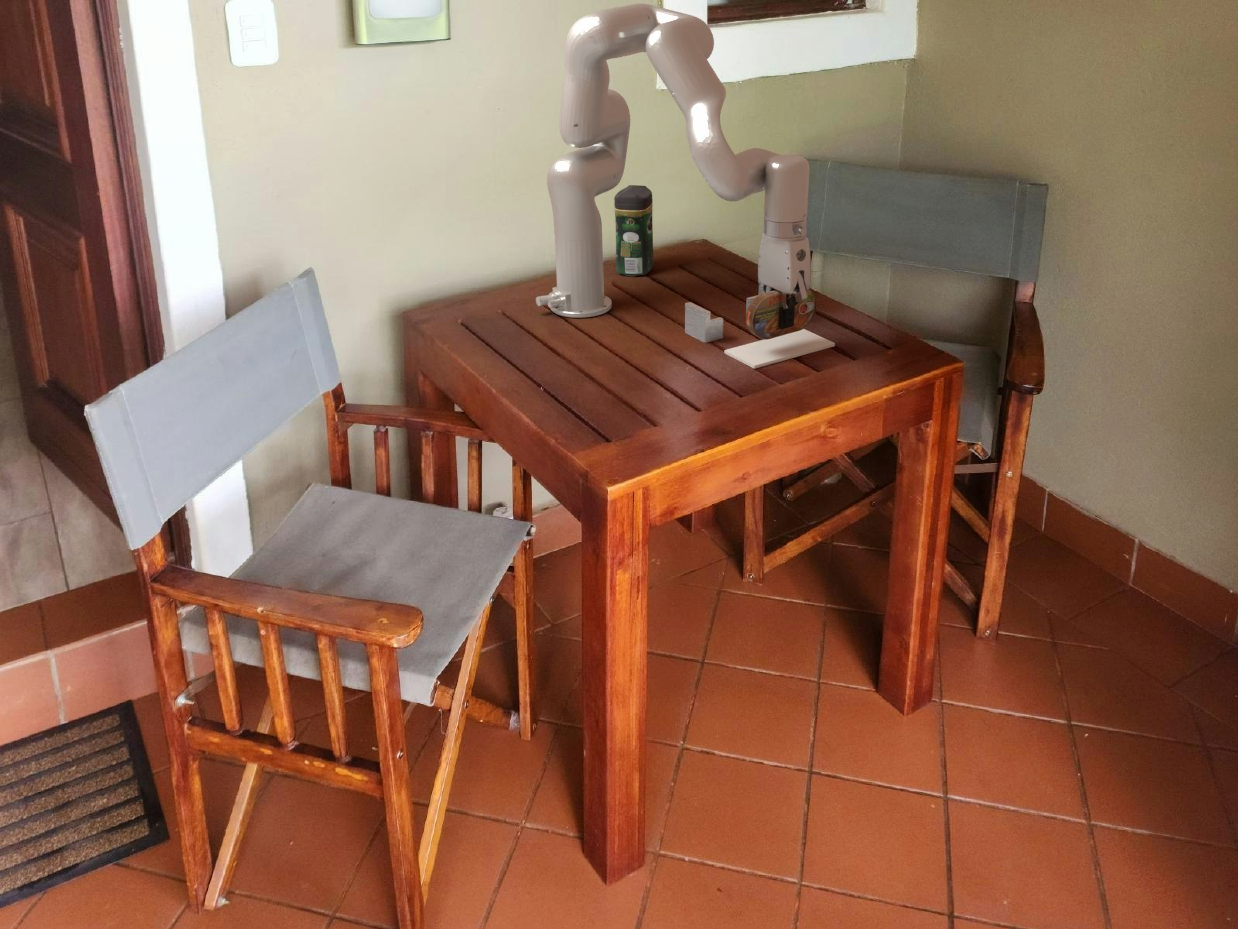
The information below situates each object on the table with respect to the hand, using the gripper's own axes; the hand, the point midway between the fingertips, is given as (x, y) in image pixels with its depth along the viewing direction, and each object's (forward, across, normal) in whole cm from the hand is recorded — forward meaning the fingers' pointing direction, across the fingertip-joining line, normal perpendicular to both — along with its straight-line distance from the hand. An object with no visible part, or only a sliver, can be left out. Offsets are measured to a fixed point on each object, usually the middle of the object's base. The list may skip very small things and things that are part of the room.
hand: (780, 323), depth 217 cm
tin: (+2, 0, 0) cm, 2 cm away
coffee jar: (+5, +55, -3) cm, 55 cm away
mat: (+5, 0, 0) cm, 5 cm away
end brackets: (+5, +14, 0) cm, 15 cm away
